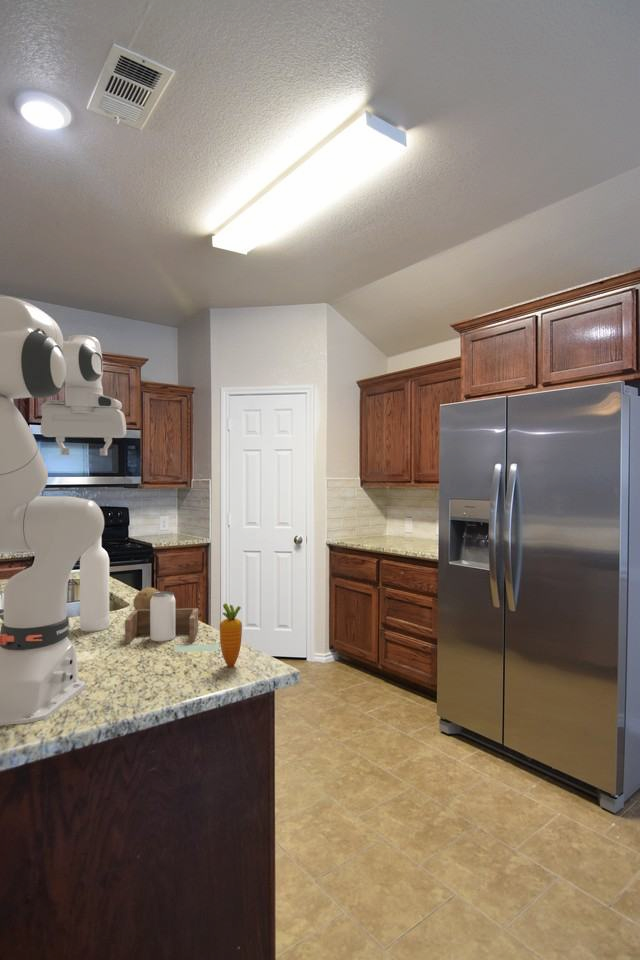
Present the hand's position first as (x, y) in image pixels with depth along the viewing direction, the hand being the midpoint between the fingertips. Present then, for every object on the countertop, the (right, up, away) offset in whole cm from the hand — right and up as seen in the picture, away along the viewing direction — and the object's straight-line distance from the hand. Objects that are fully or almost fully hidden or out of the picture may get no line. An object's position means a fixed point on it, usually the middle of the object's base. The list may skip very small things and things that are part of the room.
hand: (84, 455), depth 136 cm
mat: (+30, -49, -5) cm, 58 cm away
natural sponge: (+9, -49, +23) cm, 55 cm away
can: (+18, -49, +6) cm, 53 cm away
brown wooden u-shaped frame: (+18, -49, +7) cm, 53 cm away
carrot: (+40, -50, -15) cm, 65 cm away
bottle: (-4, -49, +16) cm, 51 cm away
